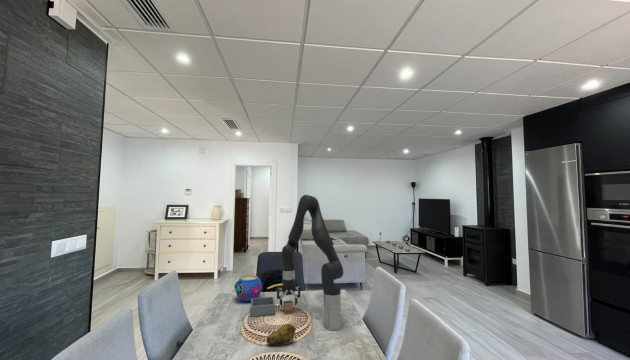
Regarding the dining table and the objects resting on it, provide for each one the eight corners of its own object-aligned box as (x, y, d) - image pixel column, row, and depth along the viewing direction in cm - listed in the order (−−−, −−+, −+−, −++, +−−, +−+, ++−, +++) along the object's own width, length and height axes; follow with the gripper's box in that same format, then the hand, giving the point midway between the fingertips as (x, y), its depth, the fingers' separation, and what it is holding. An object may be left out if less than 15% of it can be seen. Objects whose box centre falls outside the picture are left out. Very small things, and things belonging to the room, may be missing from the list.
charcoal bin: (275, 315, 155) (275, 304, 156) (250, 317, 153) (250, 306, 153) (273, 306, 169) (273, 296, 170) (251, 308, 166) (251, 298, 167)
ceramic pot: (233, 298, 185) (233, 275, 186) (258, 294, 192) (258, 272, 193) (237, 306, 169) (237, 282, 170) (264, 302, 176) (264, 279, 177)
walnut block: (293, 313, 157) (293, 303, 158) (284, 314, 156) (284, 304, 157) (291, 310, 162) (291, 300, 163) (283, 311, 161) (283, 301, 162)
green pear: (270, 337, 130) (270, 320, 130) (296, 339, 128) (296, 321, 129) (265, 346, 122) (265, 328, 122) (293, 348, 120) (293, 330, 121)
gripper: (277, 280, 156) (277, 308, 155) (301, 278, 159) (301, 306, 158) (276, 276, 164) (276, 303, 163) (299, 275, 166) (299, 301, 165)
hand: (288, 304), depth 160 cm, fingers open, 8 cm apart
